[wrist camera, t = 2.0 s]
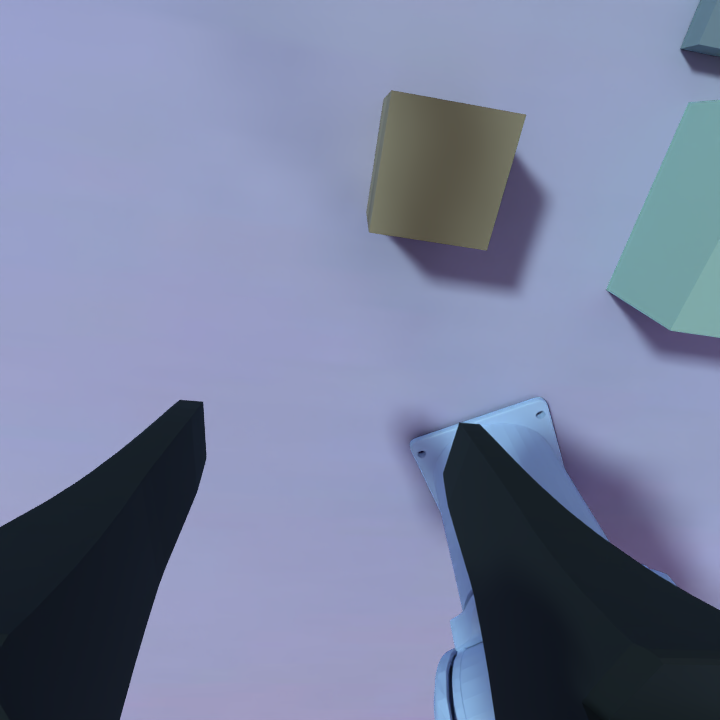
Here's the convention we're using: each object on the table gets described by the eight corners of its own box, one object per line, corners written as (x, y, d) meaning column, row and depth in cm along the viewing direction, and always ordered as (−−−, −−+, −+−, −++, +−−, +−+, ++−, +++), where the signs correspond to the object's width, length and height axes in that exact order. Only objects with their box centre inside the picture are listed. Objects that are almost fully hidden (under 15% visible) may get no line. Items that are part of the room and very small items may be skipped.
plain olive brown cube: (493, 118, 18) (531, 115, 14) (465, 227, 20) (492, 251, 16) (383, 99, 17) (391, 90, 13) (366, 211, 19) (368, 232, 15)
